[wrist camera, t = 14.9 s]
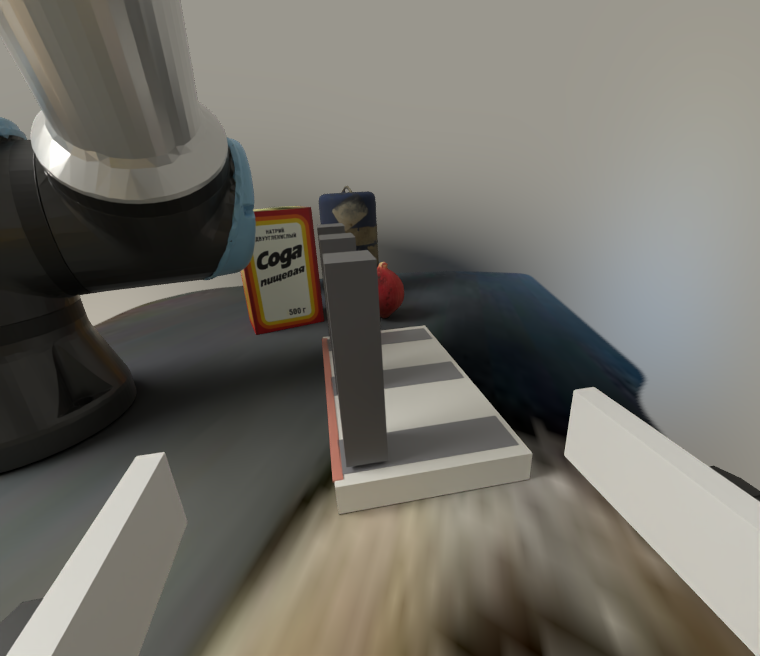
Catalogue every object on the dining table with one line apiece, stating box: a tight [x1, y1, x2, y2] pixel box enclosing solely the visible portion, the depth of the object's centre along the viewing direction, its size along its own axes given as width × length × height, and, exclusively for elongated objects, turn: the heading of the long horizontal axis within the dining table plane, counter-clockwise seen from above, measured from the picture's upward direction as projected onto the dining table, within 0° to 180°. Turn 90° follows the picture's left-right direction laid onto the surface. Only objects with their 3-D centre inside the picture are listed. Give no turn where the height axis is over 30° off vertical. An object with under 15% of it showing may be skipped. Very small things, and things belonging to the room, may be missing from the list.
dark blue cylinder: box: [319, 186, 379, 267], centre depth 64 cm, size 10×10×18 cm
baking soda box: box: [241, 206, 324, 335], centre depth 51 cm, size 10×6×16 cm
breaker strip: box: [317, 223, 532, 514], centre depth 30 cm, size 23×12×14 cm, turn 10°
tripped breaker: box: [322, 250, 388, 467], centre depth 21 cm, size 3×2×12 cm
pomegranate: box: [377, 262, 404, 318], centre depth 52 cm, size 6×6×8 cm
